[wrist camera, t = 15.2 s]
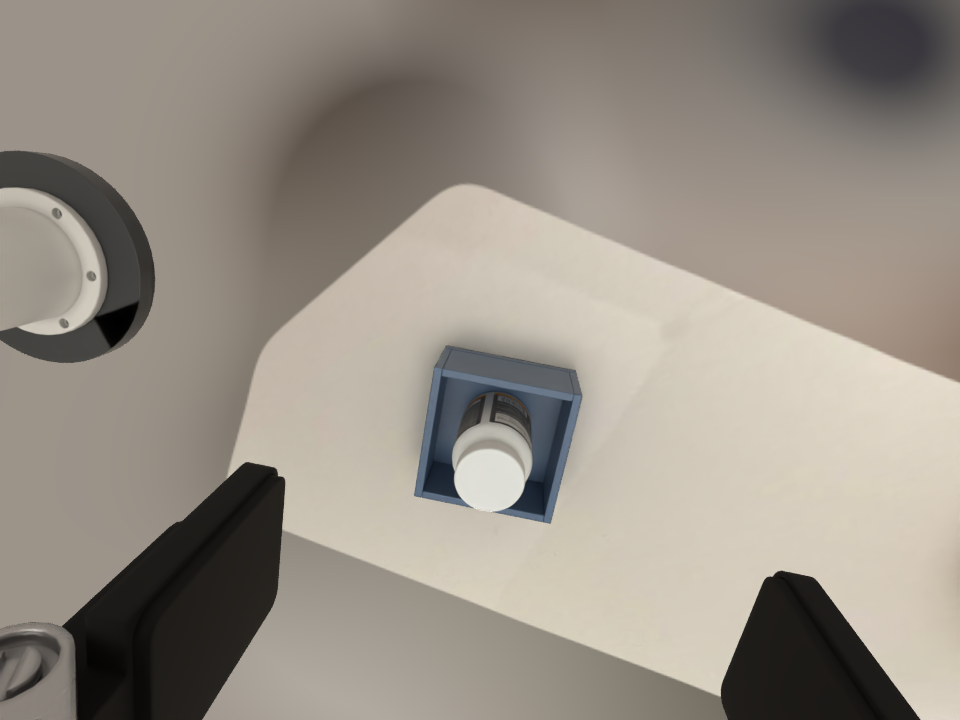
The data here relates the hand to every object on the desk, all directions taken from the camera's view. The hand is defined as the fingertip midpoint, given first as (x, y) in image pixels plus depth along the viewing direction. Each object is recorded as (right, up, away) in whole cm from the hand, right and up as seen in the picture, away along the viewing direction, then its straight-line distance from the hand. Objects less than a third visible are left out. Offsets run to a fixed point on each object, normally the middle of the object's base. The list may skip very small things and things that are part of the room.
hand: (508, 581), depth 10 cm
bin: (+1, -1, +35) cm, 35 cm away
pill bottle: (+1, -1, +34) cm, 35 cm away
